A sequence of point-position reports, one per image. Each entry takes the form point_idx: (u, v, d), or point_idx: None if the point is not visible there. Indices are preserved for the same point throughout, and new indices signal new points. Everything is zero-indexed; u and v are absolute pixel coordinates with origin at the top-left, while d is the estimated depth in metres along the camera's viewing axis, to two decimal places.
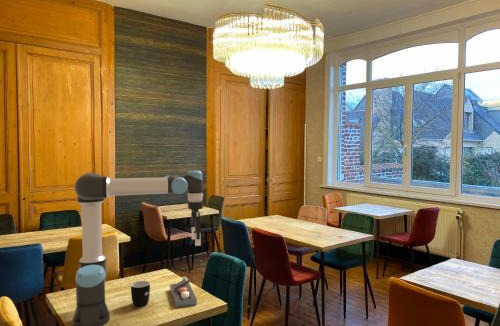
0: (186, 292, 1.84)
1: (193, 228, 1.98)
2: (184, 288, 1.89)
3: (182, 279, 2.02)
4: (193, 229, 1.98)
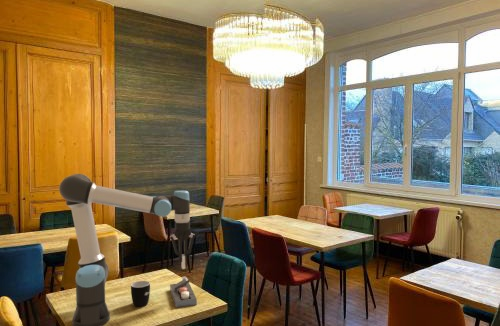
0: (186, 292, 1.84)
1: None
2: (184, 288, 1.89)
3: (182, 279, 2.02)
4: None
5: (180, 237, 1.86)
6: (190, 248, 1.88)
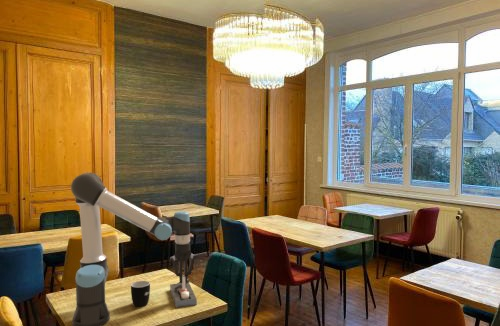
0: (186, 292, 1.84)
1: None
2: None
3: None
4: None
5: (180, 258, 1.86)
6: (190, 269, 1.89)
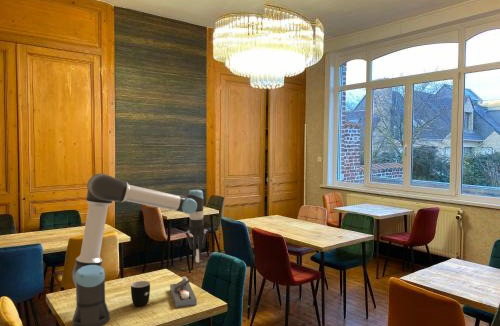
0: (186, 292, 1.84)
1: None
2: None
3: (182, 279, 2.02)
4: None
5: (194, 233, 2.01)
6: (204, 243, 2.03)
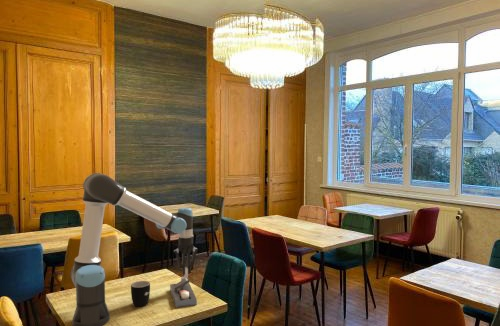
0: (186, 292, 1.84)
1: None
2: None
3: (181, 279, 2.02)
4: None
5: (183, 251, 2.00)
6: (192, 261, 2.02)
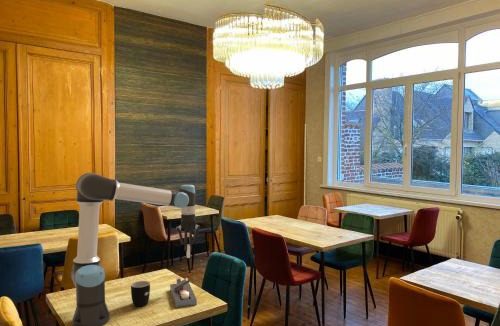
0: (186, 292, 1.84)
1: None
2: None
3: (176, 280, 2.01)
4: None
5: (186, 228, 2.00)
6: (195, 238, 2.02)
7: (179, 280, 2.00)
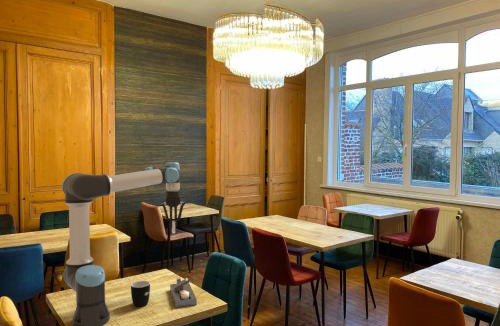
0: (186, 292, 1.84)
1: None
2: None
3: (176, 280, 2.01)
4: None
5: (171, 204, 2.04)
6: (180, 215, 2.06)
7: (179, 280, 2.00)
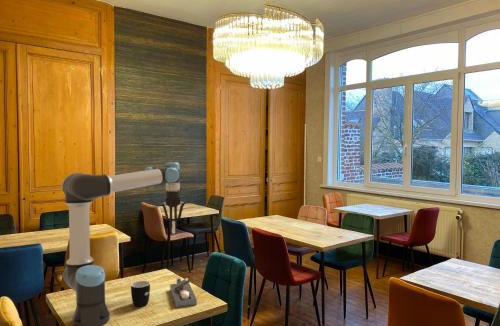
0: (186, 292, 1.84)
1: None
2: None
3: (176, 280, 2.01)
4: None
5: (171, 204, 2.04)
6: (180, 215, 2.06)
7: (179, 280, 2.00)
